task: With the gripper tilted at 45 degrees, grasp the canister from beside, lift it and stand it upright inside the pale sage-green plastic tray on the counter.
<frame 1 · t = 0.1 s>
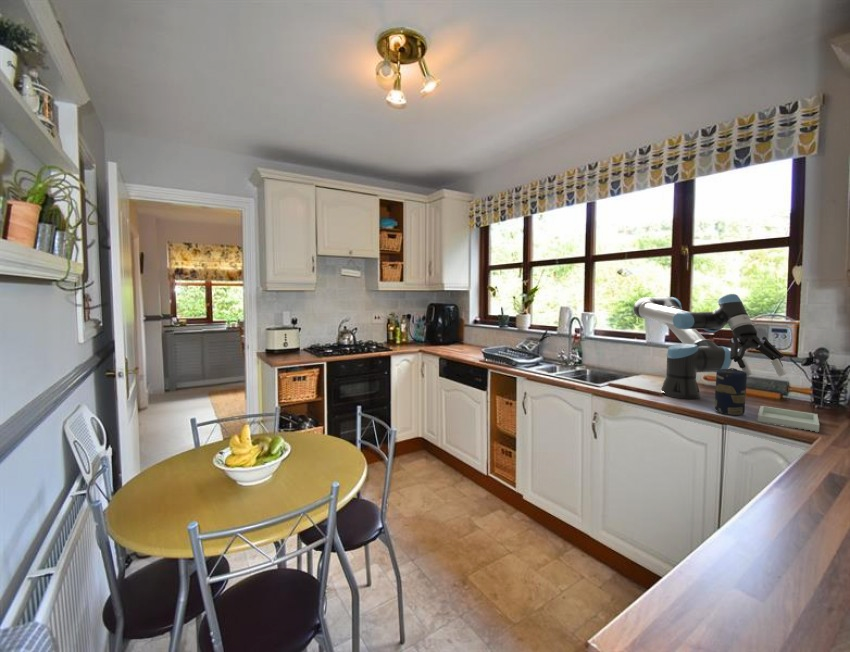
hand: (765, 375, 153), 15 cm above the countertop, tool tilted 35°, fingers open, 13 cm apart
tray: (787, 421, 146), on the countertop
canister: (728, 413, 156), on the countertop
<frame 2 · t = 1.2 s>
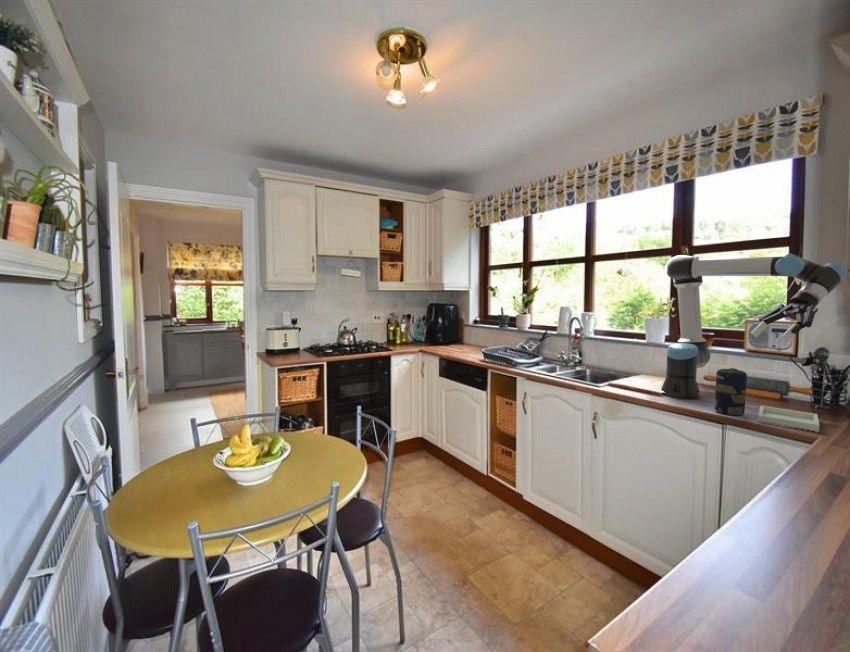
hand: (768, 336, 154), 30 cm above the countertop, tool tilted 45°, fingers open, 13 cm apart
nothing on the countertop moved.
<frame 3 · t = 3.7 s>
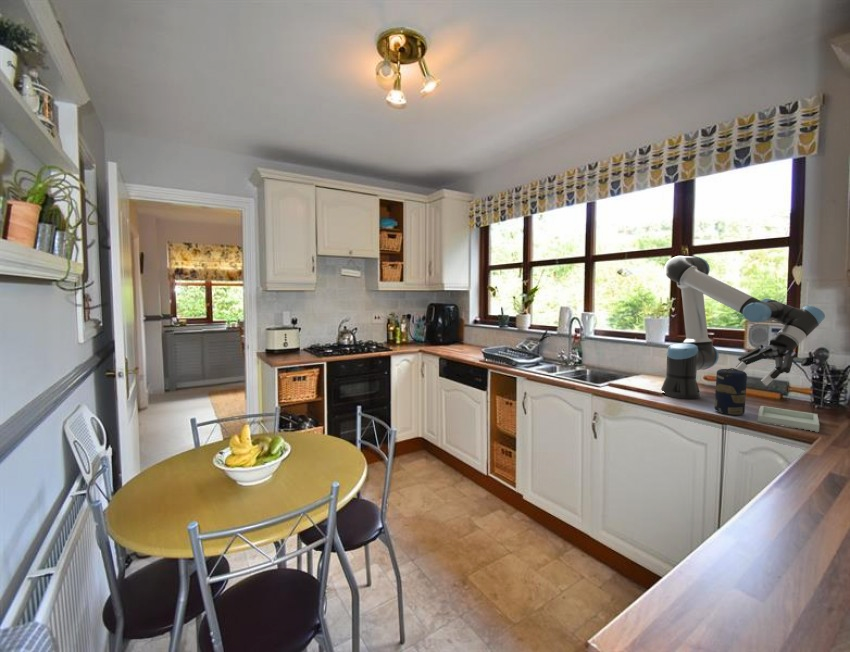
hand: (747, 379, 154), 14 cm above the countertop, tool tilted 45°, fingers open, 13 cm apart
nothing on the countertop moved.
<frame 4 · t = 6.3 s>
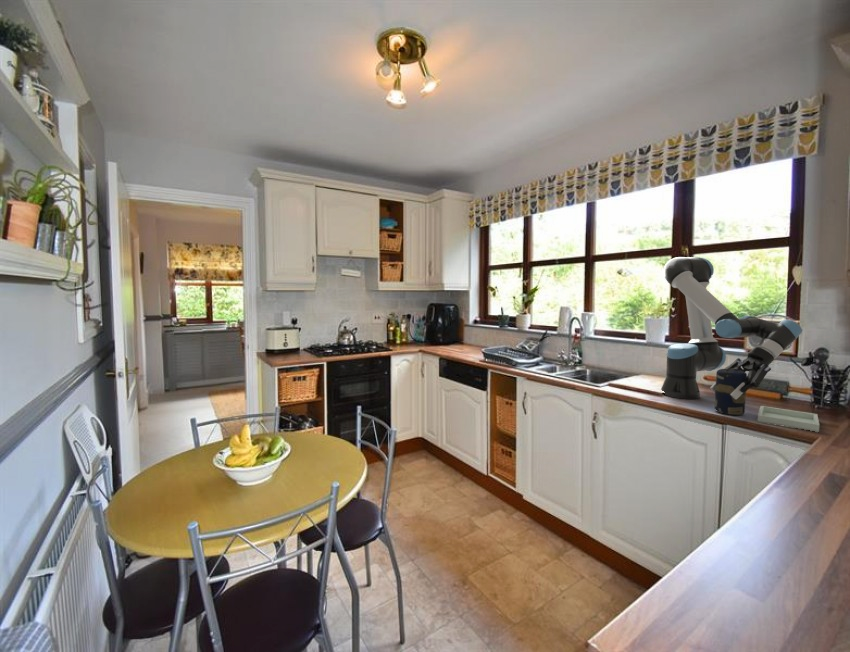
hand: (722, 393, 155), 8 cm above the countertop, tool tilted 45°, fingers closed on canister, 9 cm apart
canister: (729, 413, 156), on the countertop, touching gripper
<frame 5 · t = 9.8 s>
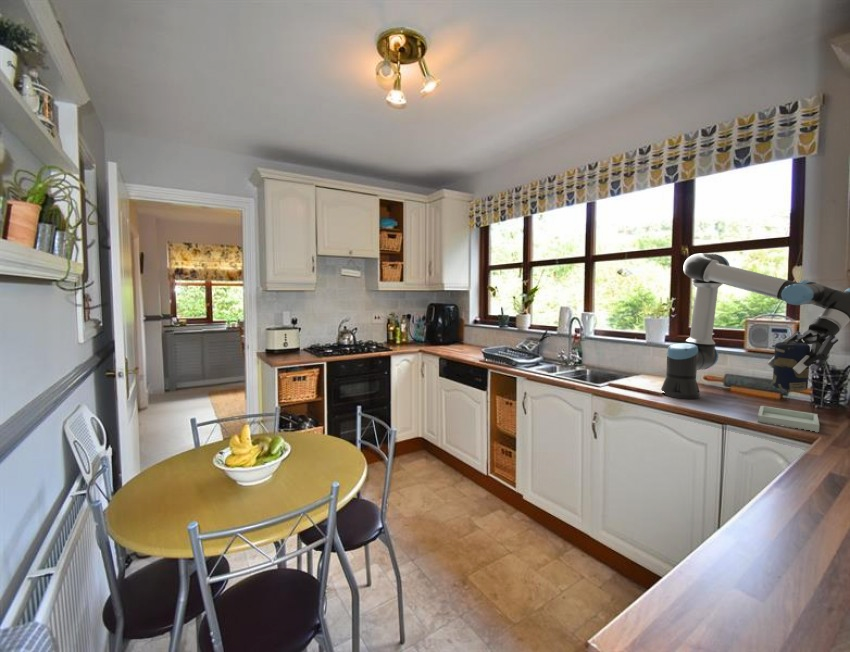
hand: (782, 368, 144), 20 cm above the countertop, tool tilted 45°, fingers closed on canister, 9 cm apart
canister: (789, 389, 145), point 12 cm above the countertop, touching gripper
when the fingers open (10 cm above the countertop, at t = 13.1 s): canister drops 1 cm, resting on tray.
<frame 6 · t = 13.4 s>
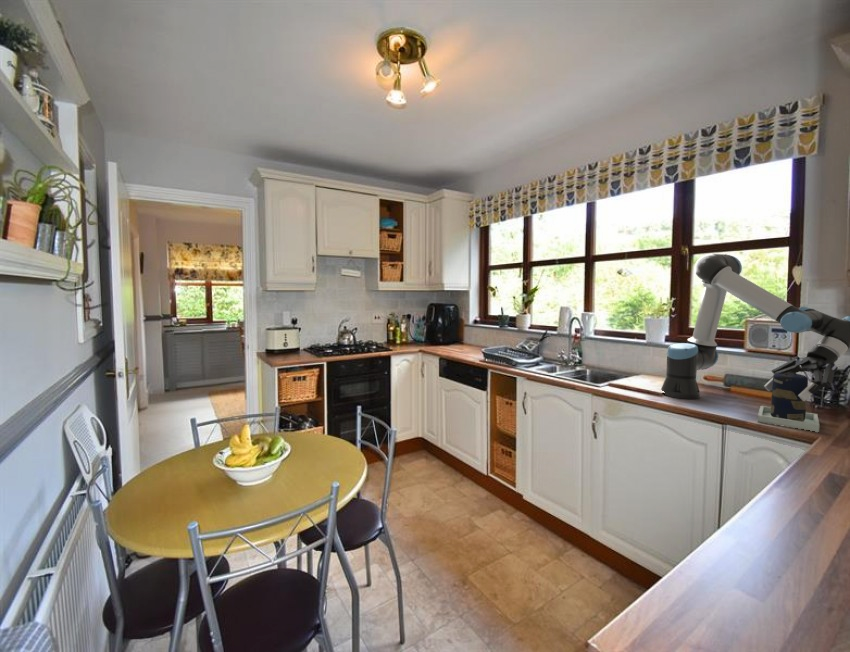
hand: (783, 393, 145), 11 cm above the countertop, tool tilted 45°, fingers open, 13 cm apart
canister: (786, 420, 146), resting on tray
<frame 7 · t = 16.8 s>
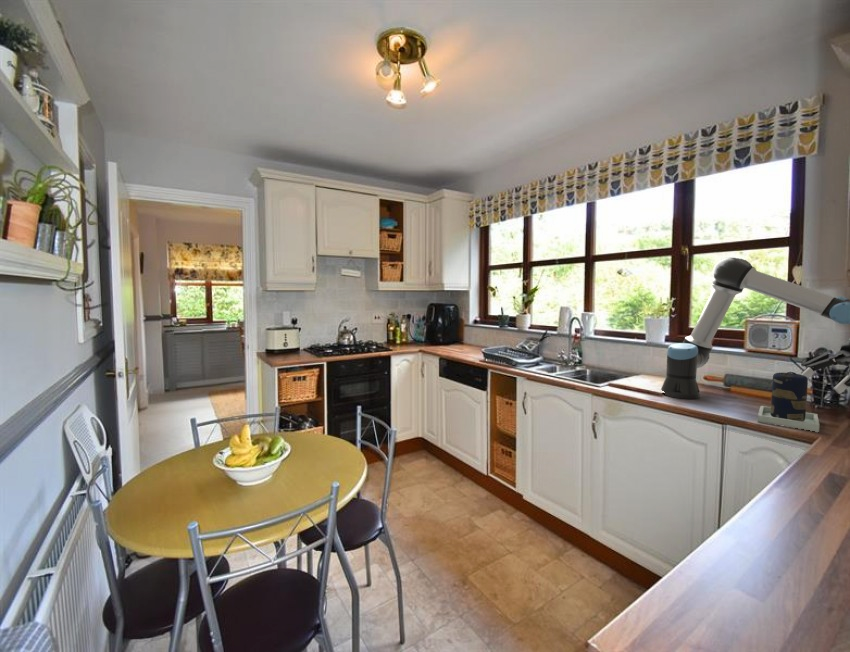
hand: (816, 386, 145), 13 cm above the countertop, tool tilted 45°, fingers open, 13 cm apart
nothing on the countertop moved.
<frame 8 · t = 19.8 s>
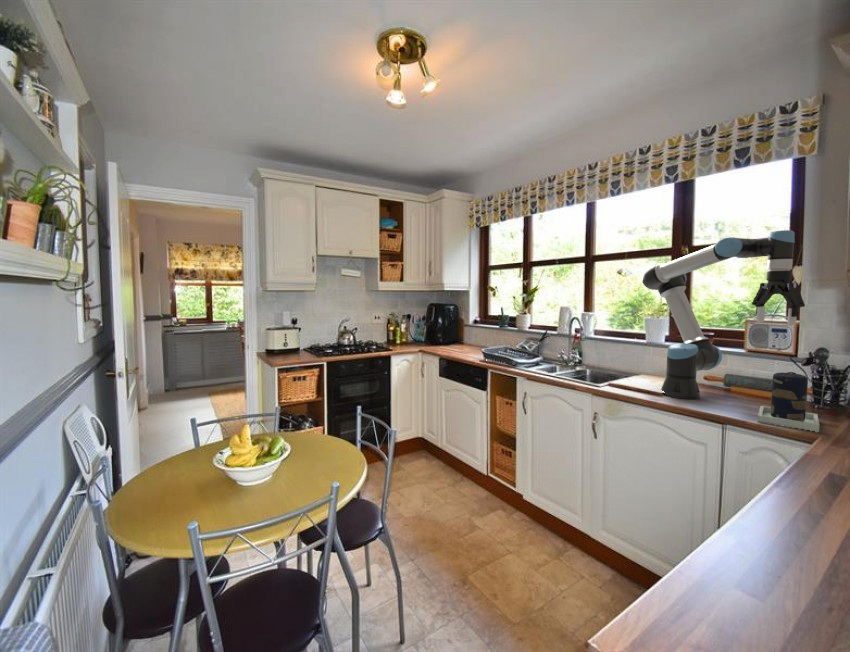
hand: (775, 323, 159), 35 cm above the countertop, tool pointing down, fingers open, 13 cm apart
nothing on the countertop moved.
at the end: canister inside the target area on the tray (0.2 cm from its centre), point 0.4 cm above the tray's base; canister tilted 0°; the gripper is holding nothing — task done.
